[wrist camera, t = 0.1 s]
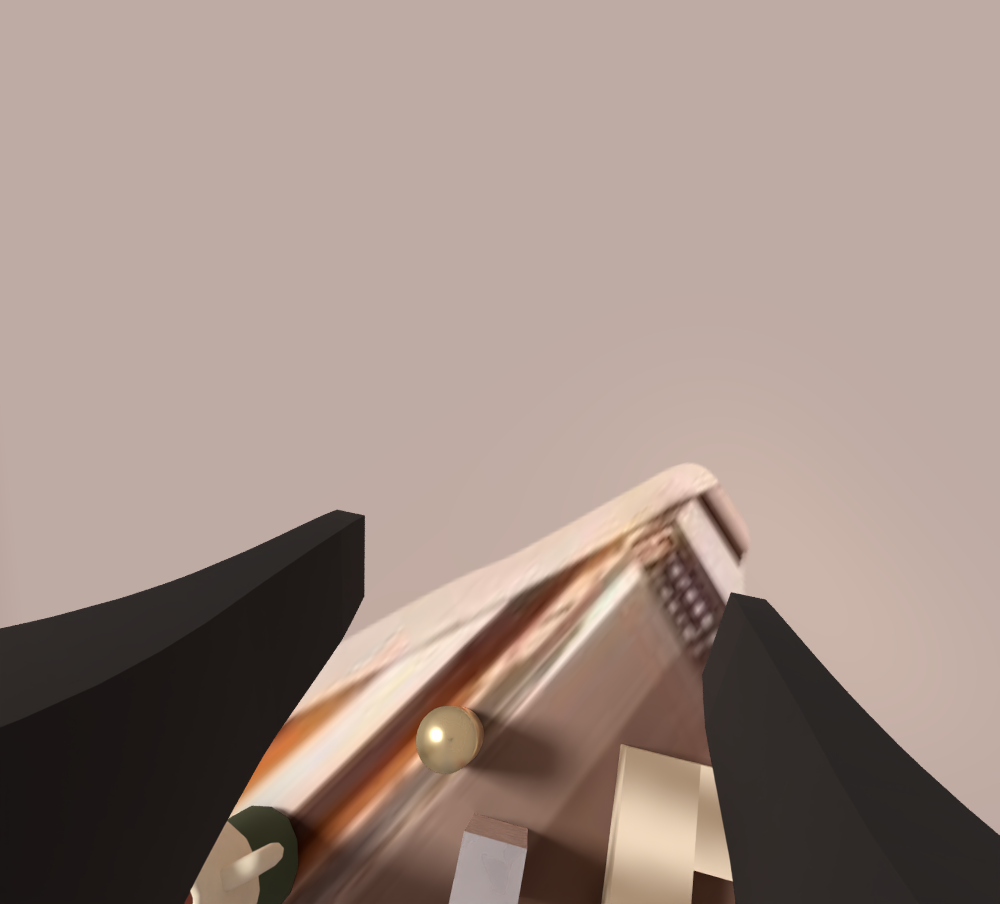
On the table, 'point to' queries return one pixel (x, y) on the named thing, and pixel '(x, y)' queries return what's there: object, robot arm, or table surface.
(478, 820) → the square bit
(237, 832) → the character mug
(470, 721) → the round bit
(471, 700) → the table surface
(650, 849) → the socket plate
